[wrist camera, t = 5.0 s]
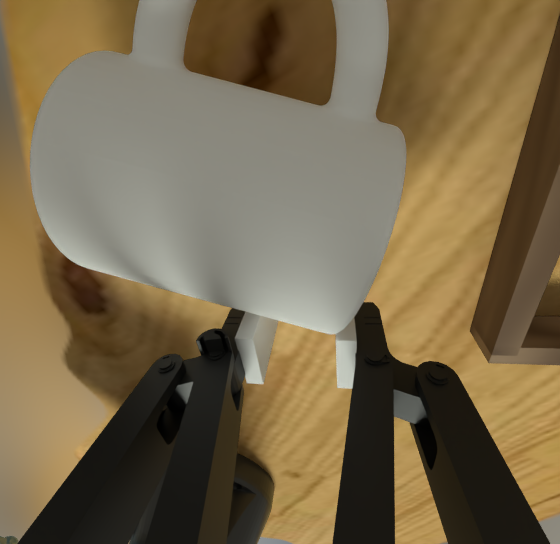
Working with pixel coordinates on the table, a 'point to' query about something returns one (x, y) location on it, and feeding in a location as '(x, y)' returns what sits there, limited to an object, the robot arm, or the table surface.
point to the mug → (223, 173)
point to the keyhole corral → (527, 242)
